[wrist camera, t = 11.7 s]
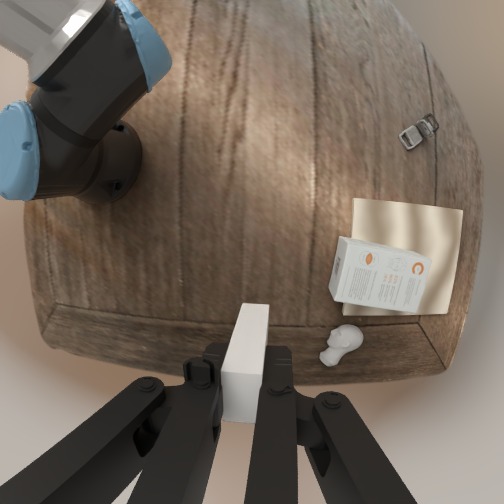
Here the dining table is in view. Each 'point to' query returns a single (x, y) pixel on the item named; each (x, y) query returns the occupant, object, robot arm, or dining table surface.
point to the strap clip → (414, 134)
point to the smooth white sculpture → (341, 343)
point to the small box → (378, 275)
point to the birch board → (412, 246)
